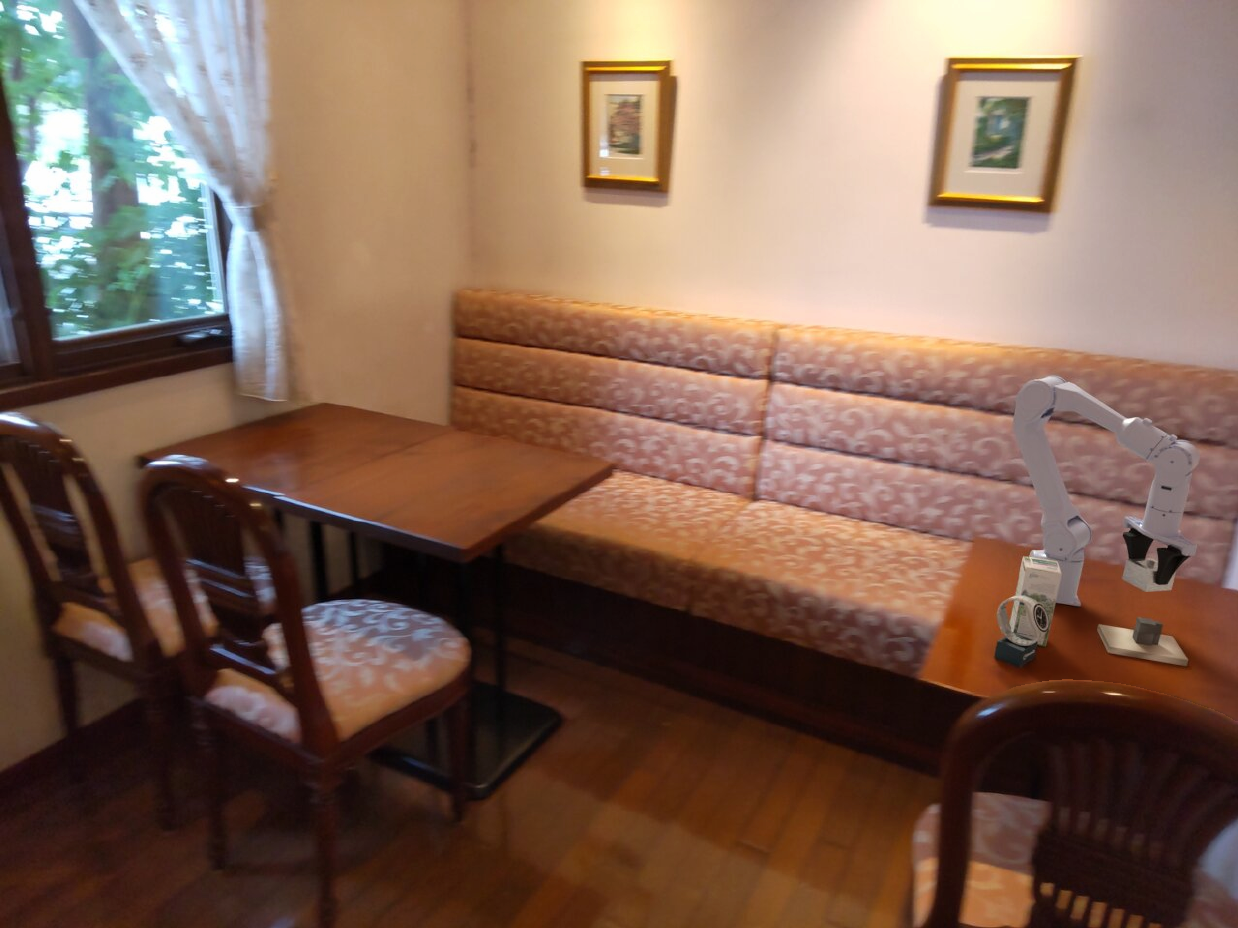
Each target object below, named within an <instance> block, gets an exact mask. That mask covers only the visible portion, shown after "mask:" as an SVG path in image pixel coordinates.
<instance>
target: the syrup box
mask: <svg viewBox="0 0 1238 928" xmlns="http://www.w3.org/2000/svg"><path fill="white" fill-rule="evenodd" d="M1061 577H1062V573H1061V570H1060V567H1059V564H1058V562H1057V561H1053V560H1046V559H1040V558H1033V557H1029V556H1026V555H1025V556H1024V555H1023V556H1022V560H1021V564H1020V569H1019V573H1018V579H1017V583H1016V589H1015V593H1014V596H1018V595H1023V596H1027V597H1030V598H1032V599H1034V600H1036V601H1037V602H1038V603H1040V604H1042V605H1043V606H1044V608H1045V609H1046V611H1047V614H1048V617H1049V629H1048V631H1047V632H1046V633H1045V635H1044V637H1042V638H1041V639H1040V640H1038V641H1037V642H1038V643H1037V646H1040V647H1046V646H1047V642H1048V638H1049V634H1050V630H1051V624H1052V621H1053V616H1054V612H1055V607H1056V604H1057V603H1056V599H1057V594H1058V590H1059V586H1060V581H1061ZM1024 604H1025V603H1023V602H1020V601H1017V600H1013V602H1012V608H1011V613H1010V618H1009V623H1010V626H1011V628H1012V629H1011V631H1012V632H1014V633H1017V634H1019V635H1022V636H1024V637H1027V638H1029V639H1032V640H1035V639H1036V638H1035V635H1034V631H1032V629H1031V628H1030V626H1029V624H1028V622H1027V618H1026V609H1025V606H1024Z"/></svg>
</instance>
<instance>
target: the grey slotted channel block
mask: <svg viewBox="0 0 1238 928" xmlns="http://www.w3.org/2000/svg"><path fill="white" fill-rule="evenodd" d="M1157 569H1158V559H1154V558H1152V557H1146V558H1142V559H1129V558H1128V559H1126V560H1125V563H1124V569H1123V574H1122V578H1121V580H1123V581H1125V582H1127V583H1129V584H1130V585H1132V586H1134V587H1136V588H1138V589H1140V590H1142V591H1143V592H1145V593H1146V592H1148V593H1149V592H1163V591H1172V588H1173V584H1174V581H1175V577H1176V573H1177V570H1176V571H1175V573H1174V574H1173V576H1172V578H1171V579H1170V581H1169V583H1168V584H1167V585H1158V584H1156V573H1157Z"/></svg>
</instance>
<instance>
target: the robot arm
mask: <svg viewBox="0 0 1238 928" xmlns="http://www.w3.org/2000/svg"><path fill="white" fill-rule="evenodd" d="M1014 401H1015V410H1014V416H1013V421H1012V431H1013V434H1014V437H1015V439H1016V442H1017V445H1018V448H1019V449H1020V453H1021V456H1022V458H1023V461H1024V464H1025V467H1026V470H1027V472H1028V475H1029V478H1030V480H1031V484H1032V486H1033V489H1034V491H1035V494H1036V497H1037V500H1038V503H1039V505H1040V508H1041V512H1042V514H1041V515H1042V516H1041V519H1040V520H1041V521H1040V526H1041V528H1042V530H1041V531H1042V538H1041V539H1042V540H1041V542H1042V547H1043V549H1039V550H1037V549H1036V550H1035V549H1033V550H1031V551H1030V553H1029V556H1028V557H1033V558H1040V559H1046V560H1053V561H1057V562H1058V564H1059V567H1060V570H1061V573H1062V577H1061V581H1060V586H1059V590H1058V594H1057V599H1056V603H1055V604H1062V605H1069V606H1074V607H1081V606H1082V603H1081V601H1080V599H1079V597H1078V595H1077V594H1078V588H1079V584H1080V580H1081V575H1082V572H1083V571H1082V570H1083V567H1084V563H1085V562H1084V561H1085V557H1086V556H1085V552H1084V548H1085V547H1087V546H1088V545H1089V544H1091V542H1092V539H1093V529H1092V527H1091V526H1090V524H1089V523H1088V522H1087V521H1086V520H1085V519H1084V518H1083V516H1082V515H1081V512H1080V510H1079V509H1078V508H1077V507H1076V506H1075V505H1073V503H1072V502H1071V499H1070V497H1069V493H1068V491H1067V488H1066V485H1065V482H1064V480H1063V478H1062V477H1063V476H1062V475H1061V472H1060V468H1059V467H1058V464H1057V461H1056V458H1055V456H1054V453H1053V450H1052V448H1051V444H1050V442H1049V440H1048V436H1047V434H1046V431H1045V426H1046V425H1047V423H1048V421H1050V418H1051V417H1052V415H1053V414H1054V413H1055V412H1075V413H1077V414H1079V415H1081V416H1082V417H1084V418H1086V419H1088V420H1090V421H1091V422H1093V423H1095V424H1097V425H1099V426H1100V427H1103V428H1105V429H1106V430H1108V431H1110V432H1111V433H1113V434H1114V436H1115V439H1116V443H1117V444H1118V445H1121V446H1122V447H1123V448H1125V449H1126V450H1128V451H1130V452H1132V453H1133V454H1135V455H1137V456H1138V457H1140V458H1141V459H1143V460H1145V461H1146V462H1147V463H1152V465H1153V468H1154V470H1155V473H1154V477H1153V480H1152V481H1151V487H1150V489H1149V493H1148V499H1147V502H1146V506H1145V510H1144V516H1143V518H1142V519H1140V518H1138V517H1135V516H1124V517H1123V518H1124V519H1123V521H1122V525H1121V526H1122V527H1123V528H1125V529H1129V530H1128V531H1124V532H1123V533H1122V537H1123V539H1124V542H1125V546H1126V551H1127V553H1128V554H1127V555H1128V559H1142V558H1147V554H1148V551H1149V549H1150V547H1151V545H1152V544H1153V541H1156V542H1159V543H1161V544H1163V545H1165V546H1167V547H1157V548H1156V553H1157V561H1158V569H1157V573H1156V584H1158V585H1167V584H1168V583H1169V581H1170V579H1171V578H1172V576H1173V574H1174V573H1175V571H1176V572H1177V570H1178V569H1179V568H1180V566H1182V565H1183V563H1185V561H1187V560H1188V559H1189V558H1191V556H1196V552H1197V548H1198V544H1196V543H1193V542H1191V540H1189V539H1188V538H1186V537H1184V536H1183V535H1182V531H1181V530H1180V527H1181V523H1182V519H1183V515H1184V512H1185V507H1186V504H1187V500H1188V496H1189V492H1190V487H1191V486H1190V484H1191V481H1192V477H1193V472H1191V471H1193V470H1194V469H1195V468H1196V467H1197V466H1198V465H1199V463H1200V458H1201V455H1200V452H1199V451H1200V450H1199V449H1198V448H1197V447H1196V446H1195V445H1194V444H1192V443H1191V441H1189V440H1186V439H1178V436H1177V435H1175V434H1174V433H1173V434H1169V433H1166V432H1164V431H1163V430H1162V429H1159V428H1158V427H1156V426H1155V425H1153V424H1152V423H1153V420H1151V419H1149V418H1147V417H1145V418H1144V419H1143V418H1141V417H1138V416H1137V417H1131V418H1127V417H1125V416H1124V415H1123V414H1121V413H1119V412H1117V411H1115V409H1113V408H1112V407H1109V406H1108V405H1107V404H1105V403H1104V402H1102V401H1101V400H1099V399H1097V398H1096V397H1094V396H1093V395H1091V394H1090V393H1088V392H1087V391H1085V390H1084V389H1082V388H1081V387H1079V386H1078V385H1077V384H1075V383H1073V382H1071V381H1066V380H1065V379H1064V378H1063V377H1060V376H1058V375H1049V376H1045V377H1043V378H1039V379H1032V380H1029V381H1027V382H1026V383H1025V384H1023V385H1022V387H1021V389H1020V390H1019V391H1018V393H1017V394H1016V395H1015V397H1014ZM1177 439H1178V440H1177ZM1175 574H1176V573H1175Z"/></svg>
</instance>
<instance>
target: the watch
mask: <svg viewBox="0 0 1238 928" xmlns="http://www.w3.org/2000/svg"><path fill="white" fill-rule="evenodd" d="M1014 600H1017V601H1020V602H1023V603H1025V604H1024V606H1025V609H1026V618H1027V622H1028V624H1029V626H1030V628H1031V629H1032V631H1034V635H1035V638H1036V639H1035V640H1032V639H1029V638H1027V637H1024V636H1022V635H1019V634H1017V633H1014V632H1012V631H1011V629H1012V628H1011V626H1010V623H1009V622H1010V619H1009V618H1008V617H1009V616H1008V611H1007V604H1008V603H1009V602H1012V601H1014ZM996 618H997V624H998V626H999V629H1000V631H1001V634H1002V635H1004V636H1003V637H1001V638H1000V639H998V640H996V641H997V642H996V646H995V651H994V656H993V658H994V659H996V660H997V659H998V660H1000V661H1002V662H1004V663H1007V664H1009V665H1011V666H1013V667H1015V668H1018V669H1020V668H1021V667H1023V666H1025V665H1026V664H1028V663H1030V662H1031V661H1033V660H1034V659H1035V656H1036V653H1037V652H1036V651H1037V648H1038V645H1037V643H1038V642H1037V641H1038V640H1040V639H1041V638H1042V637H1044V635H1045V633H1046V632H1047V631H1048V629H1049V617H1048V614H1047V611H1046V609H1045V608H1044V606H1043V605H1042V604H1040V603H1038V602H1037V601H1036V600H1034V599H1032V598H1030V597H1027V596H1023V595H1018V596H1015V595H1013V596H1011V597H1009V598H1007V599H1005V600H1003V601H1002V602H1001V603H1000V604H999V606H998V608H997V612H996Z"/></svg>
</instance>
